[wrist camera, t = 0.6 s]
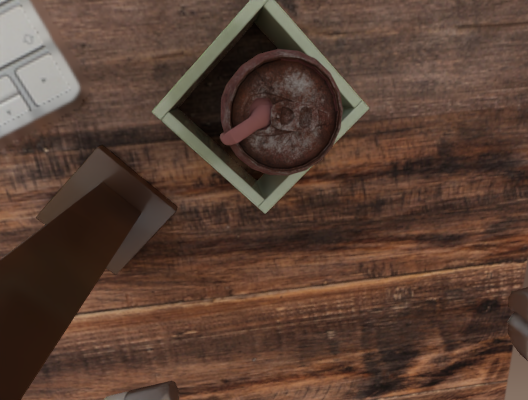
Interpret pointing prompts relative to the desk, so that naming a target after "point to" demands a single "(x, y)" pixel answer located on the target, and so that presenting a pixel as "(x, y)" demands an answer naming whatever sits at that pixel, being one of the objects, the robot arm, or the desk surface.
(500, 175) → the desk surface
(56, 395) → the desk surface
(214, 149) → the holder
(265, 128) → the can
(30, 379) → the post
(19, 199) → the desk surface
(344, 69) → the desk surface
